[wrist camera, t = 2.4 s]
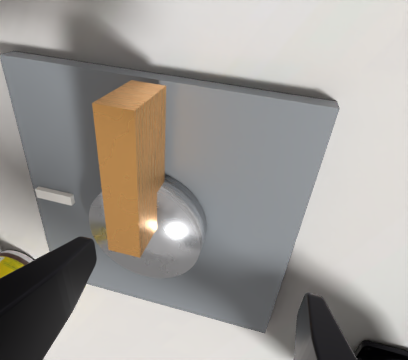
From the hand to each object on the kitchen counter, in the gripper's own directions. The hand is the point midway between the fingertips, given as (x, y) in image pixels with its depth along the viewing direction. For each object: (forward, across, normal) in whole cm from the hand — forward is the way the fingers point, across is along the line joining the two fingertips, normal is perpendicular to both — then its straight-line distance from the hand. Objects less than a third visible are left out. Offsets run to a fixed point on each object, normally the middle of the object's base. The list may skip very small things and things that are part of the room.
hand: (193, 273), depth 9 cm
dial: (+11, +5, +5) cm, 13 cm away
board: (+12, +6, +8) cm, 15 cm away
